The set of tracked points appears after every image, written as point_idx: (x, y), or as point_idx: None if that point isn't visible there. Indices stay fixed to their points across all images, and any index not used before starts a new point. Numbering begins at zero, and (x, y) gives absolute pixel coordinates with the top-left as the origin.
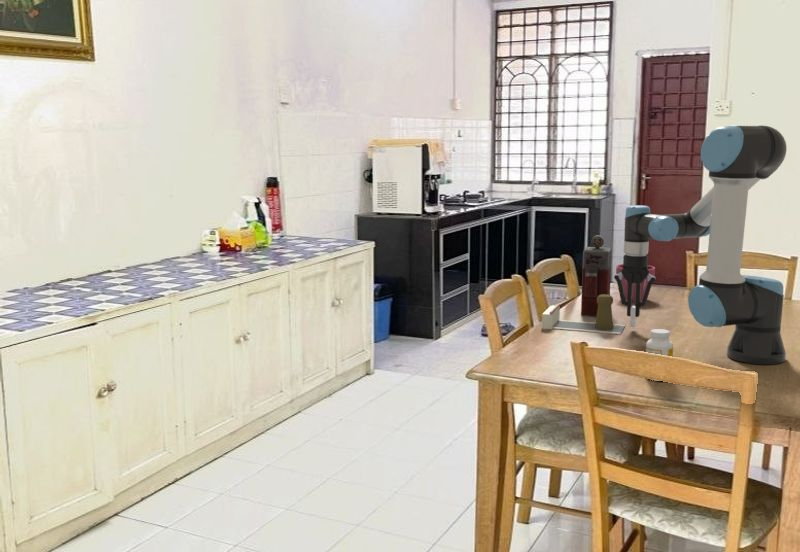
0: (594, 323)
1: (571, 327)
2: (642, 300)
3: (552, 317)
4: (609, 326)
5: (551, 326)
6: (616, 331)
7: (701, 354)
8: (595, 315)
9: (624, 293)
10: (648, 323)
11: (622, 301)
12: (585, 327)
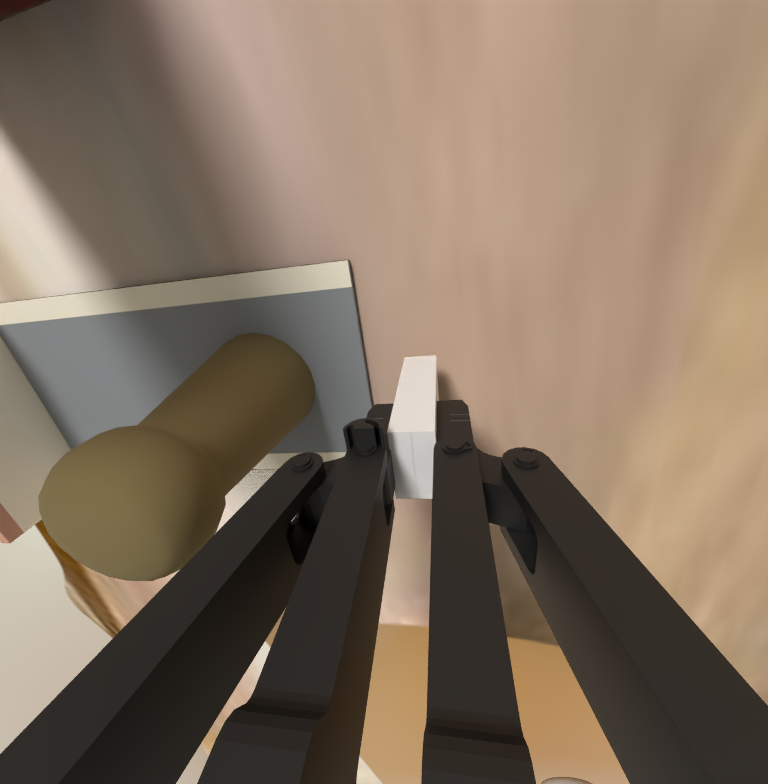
0: (172, 304)
1: None
2: (518, 562)
3: (29, 492)
4: (298, 423)
5: None
6: None
7: (763, 642)
8: (18, 3)
9: (265, 549)
10: (505, 43)
11: (306, 535)
12: None
